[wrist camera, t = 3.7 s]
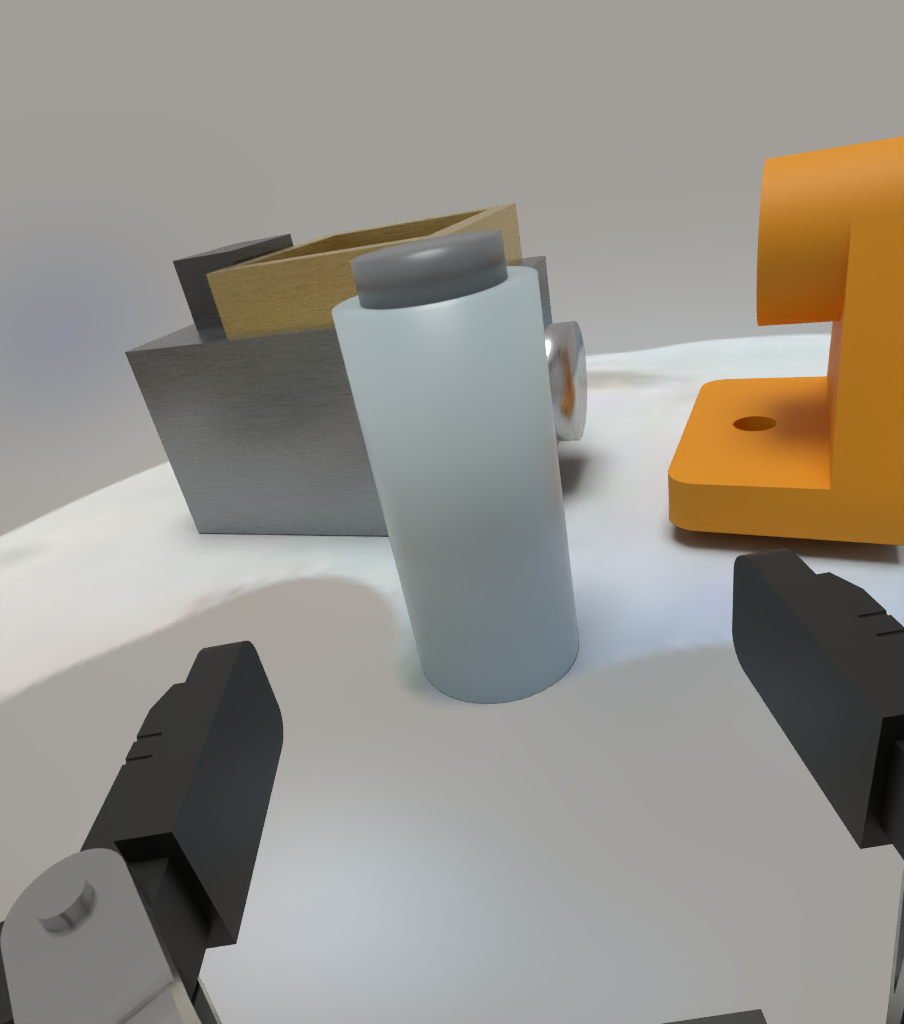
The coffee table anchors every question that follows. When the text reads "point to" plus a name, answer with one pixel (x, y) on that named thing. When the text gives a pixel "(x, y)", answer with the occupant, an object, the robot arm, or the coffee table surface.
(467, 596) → the bottle
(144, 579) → the coffee table surface
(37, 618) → the coffee table surface
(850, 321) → the bracket
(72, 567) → the coffee table surface
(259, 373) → the grey block with frame
